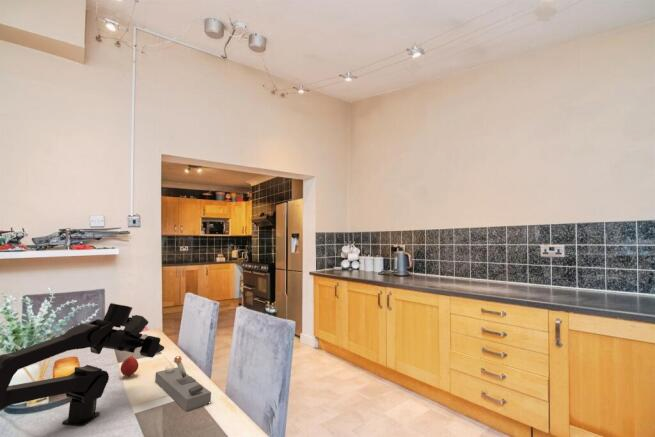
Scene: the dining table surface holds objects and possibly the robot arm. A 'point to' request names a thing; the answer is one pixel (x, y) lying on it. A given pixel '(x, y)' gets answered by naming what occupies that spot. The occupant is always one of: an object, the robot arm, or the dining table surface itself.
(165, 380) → the switch panel
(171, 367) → the push button
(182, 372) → the toggle lever
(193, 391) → the rocker
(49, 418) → the dining table surface
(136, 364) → the onion
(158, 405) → the dining table surface
